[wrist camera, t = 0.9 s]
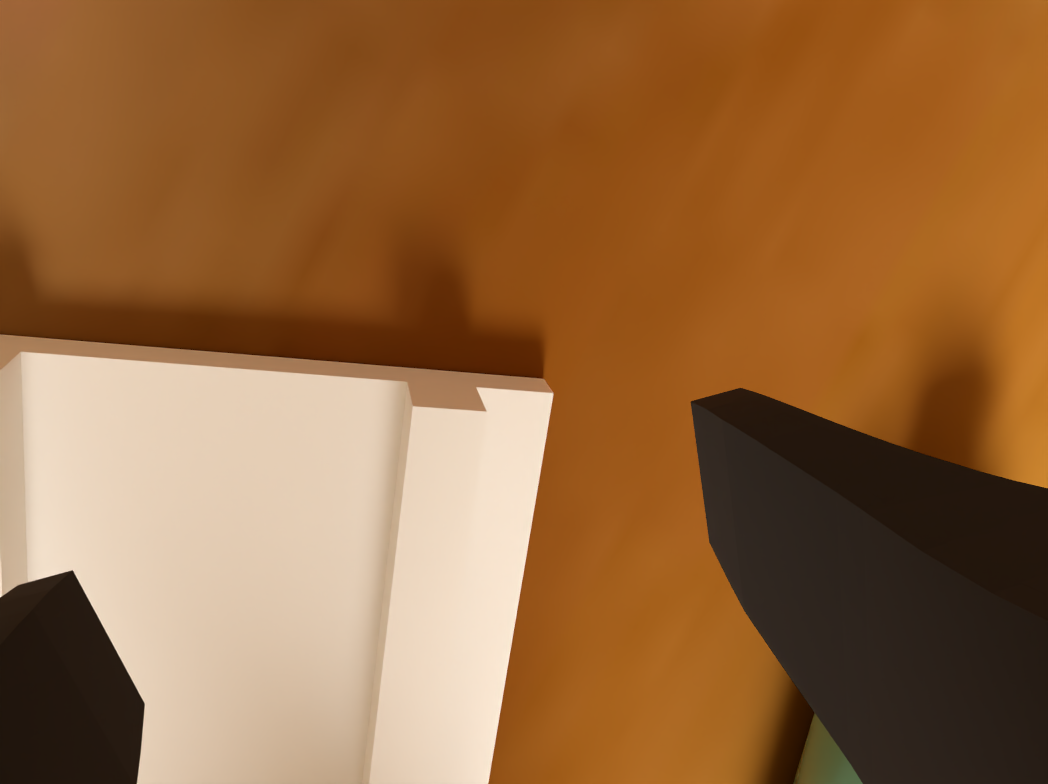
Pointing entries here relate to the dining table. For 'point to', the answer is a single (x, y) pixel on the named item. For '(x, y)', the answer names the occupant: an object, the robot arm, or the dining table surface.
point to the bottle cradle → (281, 549)
